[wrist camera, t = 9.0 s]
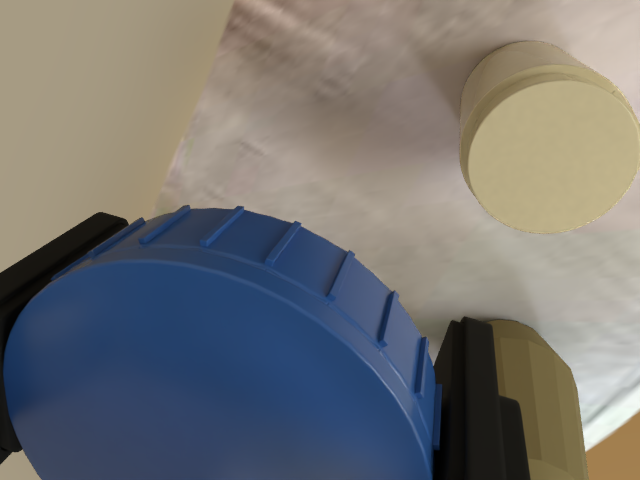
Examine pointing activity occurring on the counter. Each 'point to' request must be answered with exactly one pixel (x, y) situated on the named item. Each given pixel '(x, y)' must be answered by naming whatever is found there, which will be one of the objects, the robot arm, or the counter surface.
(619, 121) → the jar
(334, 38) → the counter surface
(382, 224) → the counter surface
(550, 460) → the squeeze bottle
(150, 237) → the lid
